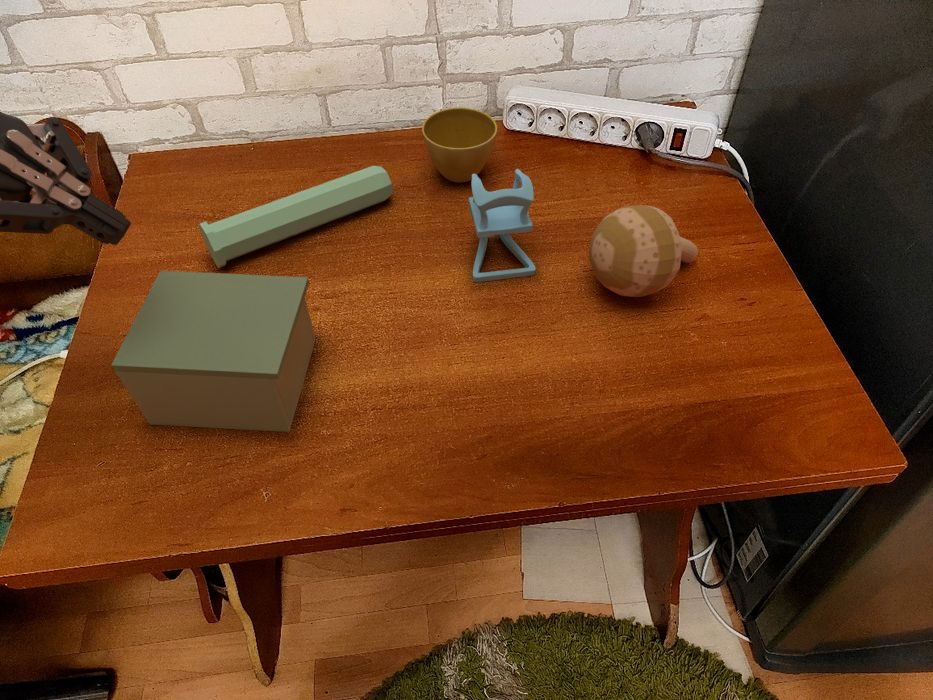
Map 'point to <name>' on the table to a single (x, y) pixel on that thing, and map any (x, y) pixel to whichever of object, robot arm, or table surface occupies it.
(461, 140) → the flower pot
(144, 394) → the chest
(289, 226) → the green rod
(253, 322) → the lid
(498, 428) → the table surface
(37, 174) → the robot arm
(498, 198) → the chair
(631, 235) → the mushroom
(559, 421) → the table surface
